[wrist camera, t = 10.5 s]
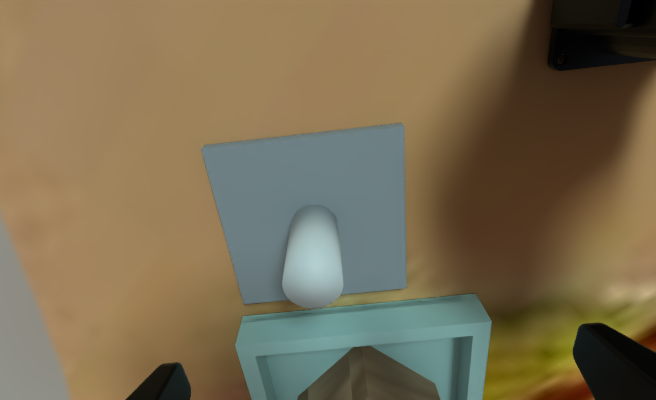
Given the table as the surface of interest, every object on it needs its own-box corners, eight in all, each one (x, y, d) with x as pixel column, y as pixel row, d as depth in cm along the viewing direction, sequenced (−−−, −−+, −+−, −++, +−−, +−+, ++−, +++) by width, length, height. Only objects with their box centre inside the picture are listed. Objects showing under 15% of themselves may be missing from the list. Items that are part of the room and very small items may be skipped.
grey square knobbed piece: (401, 122, 18) (433, 161, 13) (404, 281, 22) (429, 356, 17) (204, 145, 18) (160, 191, 13) (245, 297, 23) (224, 375, 18)
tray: (475, 293, 23) (491, 321, 21) (462, 436, 29) (473, 468, 27) (242, 316, 23) (235, 345, 21) (281, 451, 30) (278, 485, 28)
